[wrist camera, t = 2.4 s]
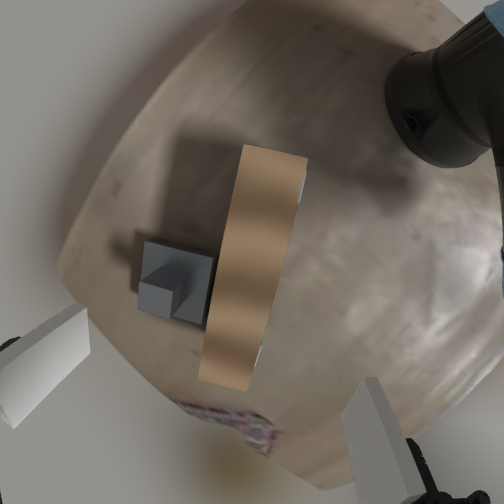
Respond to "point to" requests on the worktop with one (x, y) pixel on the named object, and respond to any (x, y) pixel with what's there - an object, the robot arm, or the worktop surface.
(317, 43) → the worktop surface
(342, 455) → the worktop surface
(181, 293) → the fulcrum
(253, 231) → the plank
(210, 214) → the worktop surface
